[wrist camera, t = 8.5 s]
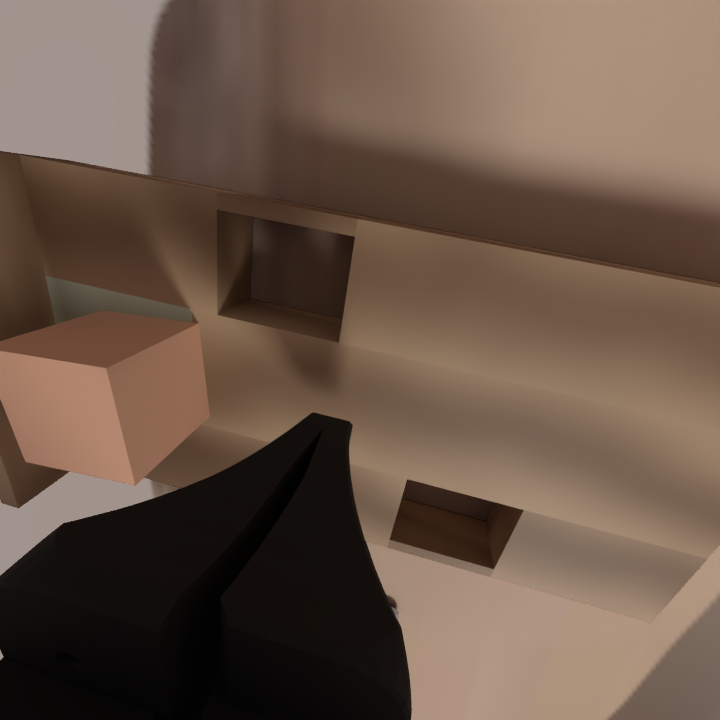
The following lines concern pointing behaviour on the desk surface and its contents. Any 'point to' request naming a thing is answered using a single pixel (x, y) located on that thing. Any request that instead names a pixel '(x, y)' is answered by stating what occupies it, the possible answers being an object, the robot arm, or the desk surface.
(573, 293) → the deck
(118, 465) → the block
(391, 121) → the desk surface
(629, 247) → the desk surface
